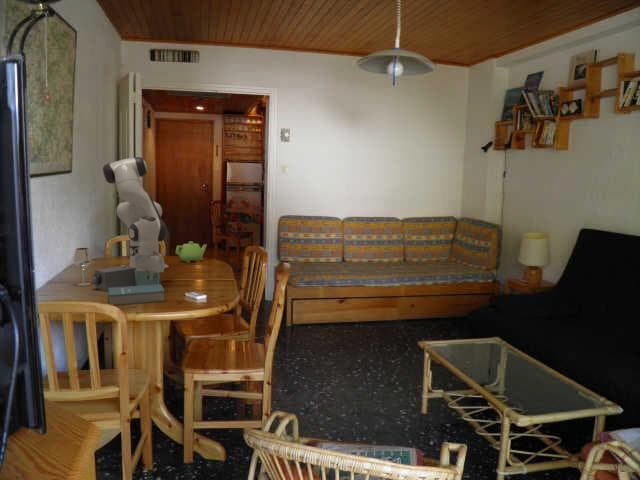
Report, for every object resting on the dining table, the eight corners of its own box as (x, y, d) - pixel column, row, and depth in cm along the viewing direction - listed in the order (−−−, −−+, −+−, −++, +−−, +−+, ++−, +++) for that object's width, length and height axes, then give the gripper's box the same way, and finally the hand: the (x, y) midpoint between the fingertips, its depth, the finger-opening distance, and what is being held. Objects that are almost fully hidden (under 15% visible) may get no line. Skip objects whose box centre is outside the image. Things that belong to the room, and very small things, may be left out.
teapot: (203, 258, 343) (203, 239, 341) (210, 261, 331) (210, 241, 330) (172, 261, 332) (172, 241, 330) (179, 264, 321) (178, 243, 319)
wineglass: (75, 286, 257) (73, 250, 254) (74, 283, 264) (72, 248, 262) (93, 285, 260) (91, 249, 258) (92, 282, 268) (90, 247, 265)
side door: (135, 285, 259) (134, 269, 258) (138, 285, 261) (137, 269, 260) (158, 289, 252) (157, 272, 251) (161, 288, 254) (160, 272, 253)
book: (109, 306, 222) (109, 295, 221) (108, 298, 237) (108, 287, 236) (165, 302, 231) (164, 290, 230) (160, 294, 246) (160, 283, 245)
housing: (126, 283, 266) (125, 264, 265) (136, 286, 260) (136, 266, 259) (91, 288, 253) (90, 268, 252) (101, 292, 246) (100, 271, 245)
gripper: (167, 252, 246) (167, 281, 248) (144, 247, 259) (144, 275, 261) (155, 254, 241) (155, 283, 243) (132, 249, 255) (133, 277, 256)
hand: (149, 279), depth 252 cm, fingers closed
